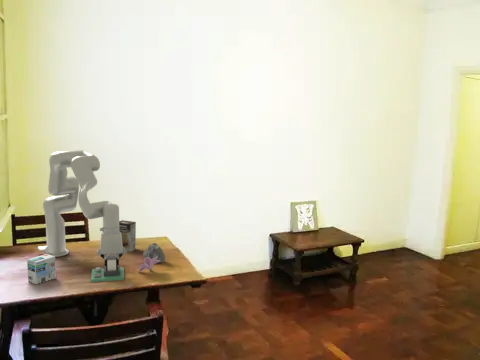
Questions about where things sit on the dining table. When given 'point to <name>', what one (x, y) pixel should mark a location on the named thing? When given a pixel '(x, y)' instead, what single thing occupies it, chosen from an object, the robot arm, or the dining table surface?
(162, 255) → the mineral rock
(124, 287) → the dining table surface
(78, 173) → the robot arm
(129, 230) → the coffee box
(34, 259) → the light bulb box
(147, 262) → the lily
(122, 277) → the board
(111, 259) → the plug
